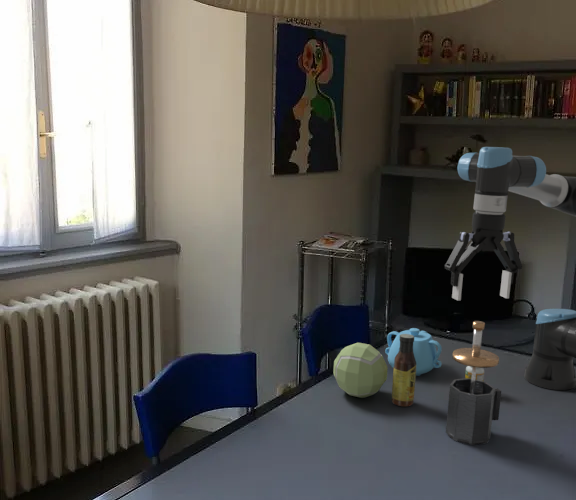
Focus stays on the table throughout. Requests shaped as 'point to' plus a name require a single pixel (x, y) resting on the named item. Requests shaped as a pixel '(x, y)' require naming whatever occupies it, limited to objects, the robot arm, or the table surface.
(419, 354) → the decorative pot
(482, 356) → the plunger
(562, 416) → the table surface
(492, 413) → the press body
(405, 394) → the sauce bottle
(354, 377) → the decorative sphere
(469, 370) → the supplement bottle
